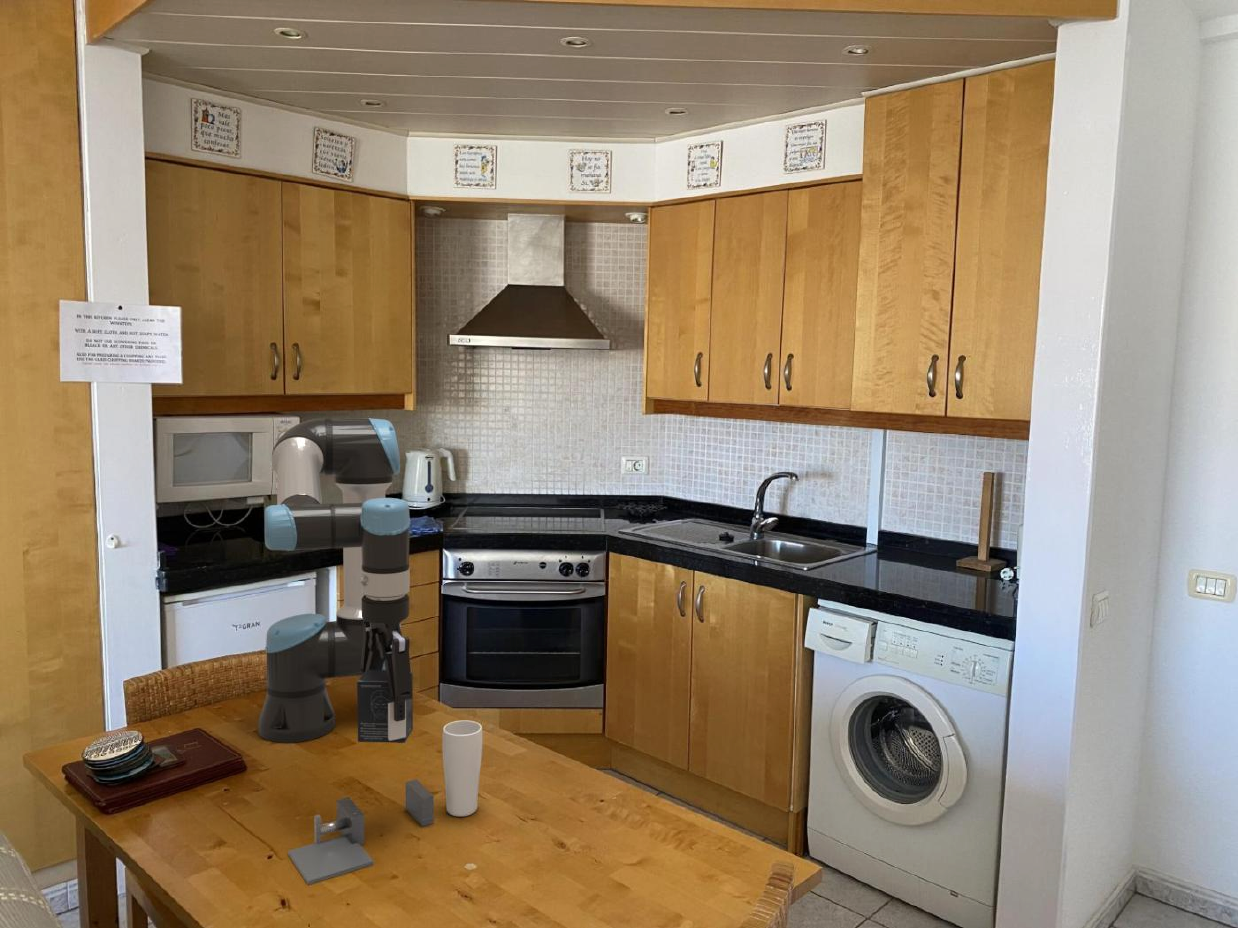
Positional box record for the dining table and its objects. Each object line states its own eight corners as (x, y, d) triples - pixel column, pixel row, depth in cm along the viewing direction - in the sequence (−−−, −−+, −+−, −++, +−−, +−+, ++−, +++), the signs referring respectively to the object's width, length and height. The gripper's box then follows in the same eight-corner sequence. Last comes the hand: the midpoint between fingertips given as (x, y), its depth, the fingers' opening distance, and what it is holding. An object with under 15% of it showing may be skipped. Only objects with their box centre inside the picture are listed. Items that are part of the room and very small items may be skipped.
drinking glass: (473, 822, 155) (474, 737, 154) (435, 817, 157) (436, 733, 155) (487, 803, 162) (488, 721, 160) (450, 798, 163) (451, 717, 161)
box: (413, 730, 154) (413, 669, 153) (405, 744, 149) (405, 681, 147) (366, 728, 154) (366, 667, 153) (356, 742, 149) (356, 679, 147)
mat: (287, 854, 144) (287, 850, 144) (350, 836, 150) (350, 832, 150) (308, 884, 136) (308, 880, 136) (373, 864, 142) (373, 860, 142)
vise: (308, 836, 149) (308, 807, 149) (416, 806, 160) (416, 779, 160) (322, 856, 143) (322, 826, 143) (433, 823, 154) (433, 795, 154)
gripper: (339, 582, 155) (340, 710, 158) (389, 614, 138) (389, 757, 140) (382, 577, 159) (382, 702, 162) (435, 607, 142) (434, 746, 145)
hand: (385, 727), depth 151 cm, fingers closed on box, 9 cm apart
